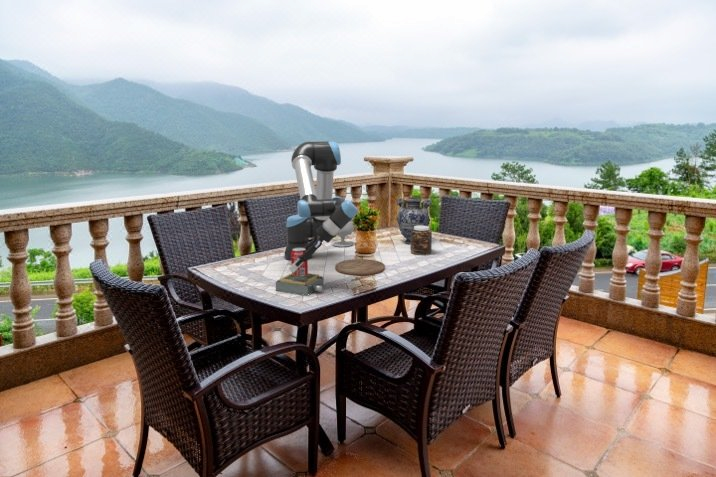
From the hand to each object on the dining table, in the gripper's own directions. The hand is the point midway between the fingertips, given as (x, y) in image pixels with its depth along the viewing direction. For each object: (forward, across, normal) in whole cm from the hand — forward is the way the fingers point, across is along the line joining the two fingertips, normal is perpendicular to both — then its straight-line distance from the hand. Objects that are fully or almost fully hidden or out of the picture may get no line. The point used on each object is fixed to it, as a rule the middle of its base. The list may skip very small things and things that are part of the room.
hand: (291, 267), depth 206 cm
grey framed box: (+3, -1, -10) cm, 11 cm away
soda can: (0, 0, -5) cm, 5 cm away
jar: (-42, +56, -56) cm, 90 cm away
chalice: (-12, +80, -26) cm, 85 cm away
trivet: (-16, +28, -30) cm, 44 cm away
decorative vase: (-43, +82, -56) cm, 108 cm away
